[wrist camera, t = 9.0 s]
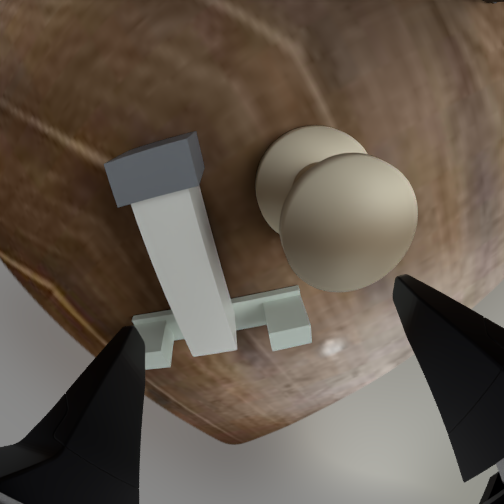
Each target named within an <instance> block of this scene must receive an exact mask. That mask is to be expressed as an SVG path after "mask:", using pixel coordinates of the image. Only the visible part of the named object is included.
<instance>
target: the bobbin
mask: <svg viewBox="0 0 504 504" xmlns="http://www.w3.org/2000/svg"><path fill="white" fill-rule="evenodd" d="M255 192H256V197H257V201H258V205H259V208H260V210H261V213H262V215H263V217H264V218H265V220H266V222H267V223H268V224H269V225H270V227H271V228H272V229H273V230H275V231H276V232H277V233H278V234H280V239H281V244H282V247H283V249H284V252H285V255H286V258H287V260H288V263H289V264H290V266H291V268H292V270H293V271H294V272H295V273H296V275H297V276H298V277H299V278H301V279H302V280H303V281H304V282H306V283H307V284H309V285H310V286H313V287H315V288H317V289H320V290H324V291H329V292H348V291H353V290H357V289H360V288H364V287H366V286H368V285H371V284H372V283H374V282H376V281H378V280H379V279H381V278H382V277H384V276H385V275H386V274H388V273H389V272H390V271H391V270H392V269H393V268H394V267H395V266H396V265H397V264H398V263H399V262H400V260H401V259H402V258H403V256H404V255H405V253H406V252H407V250H408V248H409V246H410V244H411V242H412V240H413V237H414V234H415V231H416V226H417V219H418V209H417V201H416V197H415V194H414V191H413V189H412V187H411V185H410V183H409V181H408V180H407V179H406V178H405V176H404V175H403V174H402V173H401V172H400V171H399V170H398V169H396V168H395V167H393V166H392V165H390V164H388V163H386V162H385V161H383V160H381V159H379V158H377V157H374V156H372V155H368V154H367V152H366V151H365V150H364V148H363V147H362V146H361V145H360V144H359V143H358V142H357V141H356V140H355V139H354V138H352V137H351V136H349V135H348V134H346V133H344V132H342V131H339V130H336V129H334V128H331V127H327V126H320V125H311V126H304V127H299V128H296V129H293V130H291V131H289V132H287V133H285V134H284V135H282V136H281V137H279V138H278V139H277V140H276V141H275V142H274V143H272V144H271V146H270V147H269V148H268V149H267V150H266V152H265V154H264V155H263V157H262V159H261V161H260V163H259V166H258V169H257V172H256V178H255Z"/></svg>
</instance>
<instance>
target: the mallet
mask: <svg viewBox="0 0 504 504" xmlns="http://www.w3.org/2000/svg"><path fill="white" fill-rule="evenodd" d="M104 167H105V170H106V173H107V176H108V180H109V183H110V186H111V189H112V192H113V195H114V198H115V201H116V204H117V207H122V206H125V205H129V204H131V206H132V209H133V212H134V215H135V218H136V221H137V224H138V227H139V229H140V232H141V235H142V238H143V240H144V243H145V246H146V249H147V251H148V254H149V256H150V259H151V262H152V264H153V267H154V269H155V272H156V274H157V277H158V279H159V282H160V284H161V286H162V289H163V291H164V294H165V296H166V298H167V301H168V303H169V305H170V308H171V310H172V312H173V314H174V317H175V319H176V321H177V323H178V326H179V328H180V330H181V332H182V334H183V336H184V339H185V341H186V343H187V345H188V347H189V349H190V351H191V353H192V355H193V357H195V356H202V355H209V354H215V353H221V352H227V351H233V350H237V339H236V324H235V312H234V309H233V306H232V302H231V299H230V295H229V292H228V288H227V285H226V281H225V278H224V275H223V271H222V267H221V264H220V260H219V257H218V253H217V250H216V246H215V242H214V239H213V235H212V231H211V228H210V224H209V220H208V217H207V213H206V209H205V205H204V201H203V198H202V194H201V190H200V186H199V184H200V181H201V178H202V174H203V171H204V168H205V167H204V163H203V158H202V154H201V150H200V146H199V142H198V137H197V133H196V131H194V132H190V133H186V134H183V135H179V136H175V137H171V138H168V139H164V140H161V141H157V142H154V143H151V144H147V145H144V146H141V147H138V148H135V149H132V150H129V151H127V152H125V153H123V154H121V155H119V156H118V157H116V158H114V159H112V160H110V161H108V162H107V163H105V164H104Z"/></svg>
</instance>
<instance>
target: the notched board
mask: <svg viewBox="0 0 504 504" xmlns="http://www.w3.org/2000/svg"><path fill="white" fill-rule="evenodd" d="M231 302H232V306H233V309H234V312H235V324H236V330H241V329H246V328H252V327H257V326H262V325H267V328H268V333H269V338H270V342H271V347H272V351H276V350H281V349H285V348H290V347H295V346H299V345H304V344H308V343H312V338H311V324H310V321H309V318H308V315H307V313H306V310H305V307H304V304H303V301H302V298H301V295H300V289H299V286H298V285H296V286H292V287H287V288H282V289H277V290H273V291H268V292H263V293H258V294H253V295H248V296H243V297H238V298H233V299H231ZM132 322H133V324H134V326H135V327H136V328H137V330H138V332H139V334H140V335H141V337H142V338H143V340H144V342H145V370H146V369H157V368H166V367H171V359H172V350H173V343H174V340H180V339H184V336H183V334H182V332H181V330H180V328H179V326H178V323H177V321H176V319H175V317H174V314H173V312H172V310H166V311H160V312H154V313H147V314H141V315H135V316H133V318H132Z"/></svg>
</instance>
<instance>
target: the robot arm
mask: <svg viewBox="0 0 504 504" xmlns="http://www.w3.org/2000/svg"><path fill="white" fill-rule="evenodd" d="M482 1H485V2H487V3H497V2H504V0H482ZM393 301H394V304H395V306H396V309H397V312H398V314H399V317H400V320H401V323H402V325H403V328H404V331H405V333H406V336H407V338H408V341H409V343H410V345H411V347H412V349H413V351H414V353H415V356H416V358H417V360H418V362H419V364H420V366H421V369H422V371H423V373H424V375H425V378H426V380H427V382H428V385H429V387H430V389H431V392H432V394H433V397H434V399H435V401H436V404H437V406H438V409H439V411H440V414H441V417H442V419H443V422H444V424H445V427H446V430H447V432H448V436H449V439H450V442H451V444H452V447H453V450H454V453H455V456H456V459H457V463H458V466H459V469H460V472H461V475H462V478H463V481H464V482H466V481H468V480H470V479H471V478H473V477H475V476H476V475H478V474H480V473H482V472H483V471H485V470H487V469H488V468H490V467H491V466H493V465H494V464H496V465H497V468H498V470H499V471H498V472H497V473H496V474H494V475H493V476H492V477H490V479H489V482H488V484H487V487H486V489H485V492H484V494H483V496H482V499H481V501H480V503H479V504H504V328H503V327H501V326H499V325H497V324H495V323H494V322H492V321H490V320H489V319H487V318H484V317H483V316H482V315H480V314H478V313H476V312H475V311H473V310H471V309H470V308H468V307H466V306H464V305H463V304H461V303H459V302H457V301H456V300H454V299H452V298H450V297H448V296H447V295H445V294H443V293H441V292H439V291H437V290H436V289H434V288H432V287H430V286H428V285H426V284H425V283H423V282H421V281H419V280H417V279H415V278H413V277H411V276H410V275H407V274H404V275H400V276H397V277H396V278H395V283H394V289H393ZM144 391H145V342H144V340H143V338H142V337H141V335H140V334H139V332H138V330H137V328H136V327H135V326H125V327H123V328H122V329H121V330H120V331H119V332H118V333H117V334H116V335H115V336H114V337H113V339H112V340H111V341H110V342H109V343H108V344H107V345H106V346H105V348H104V349H103V350H102V351H101V352H100V353H99V354H98V356H97V357H96V358H95V359H94V360H93V361H92V362H91V364H90V365H89V366H88V367H87V368H86V370H85V371H84V372H83V373H82V374H81V375H80V376H79V377H78V379H77V380H76V381H75V382H74V383H73V385H72V386H71V387H70V388H69V389H68V391H67V392H66V394H64V395H63V396H62V398H61V399H60V400H59V401H58V402H57V404H56V405H55V406H54V407H53V408H52V409H51V410H50V412H49V413H48V414H47V415H46V416H45V417H44V418H43V419H42V420H41V421H40V422H39V423H38V424H37V425H36V426H35V427H34V428H33V429H32V430H31V431H30V432H29V433H28V435H27V436H26V437H25V438H24V439H22V440H21V441H20V442H18V443H16V444H13V445H9V446H4V447H0V504H139V489H138V488H139V466H140V465H139V464H140V441H141V427H142V414H143V401H144Z"/></svg>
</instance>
